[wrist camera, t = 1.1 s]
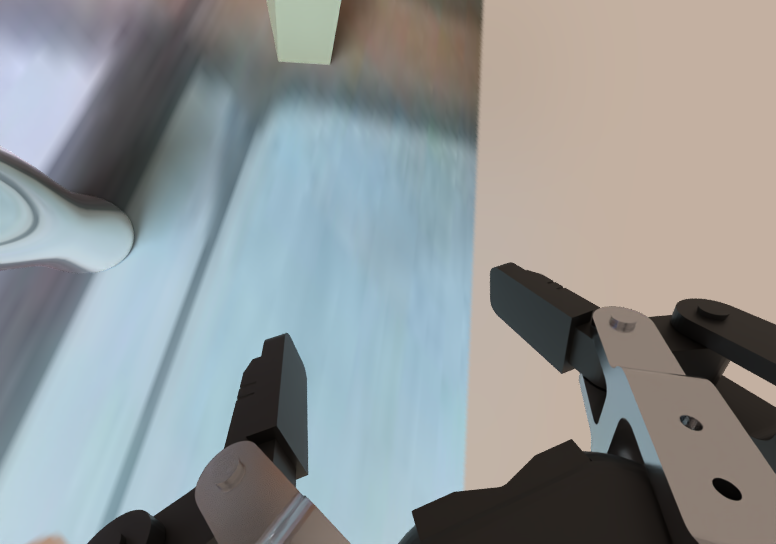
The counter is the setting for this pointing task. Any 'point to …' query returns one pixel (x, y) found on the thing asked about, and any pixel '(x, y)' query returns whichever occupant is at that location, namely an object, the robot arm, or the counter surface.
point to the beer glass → (56, 223)
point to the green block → (304, 29)
